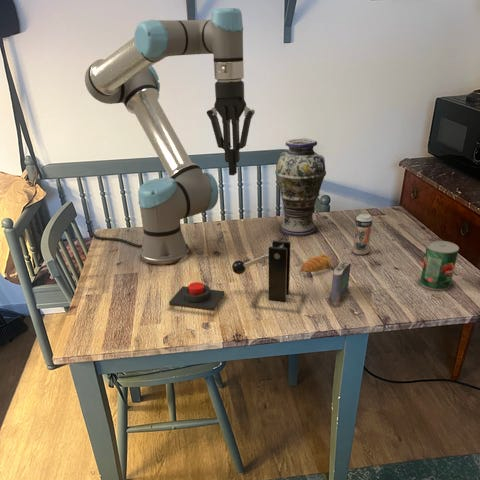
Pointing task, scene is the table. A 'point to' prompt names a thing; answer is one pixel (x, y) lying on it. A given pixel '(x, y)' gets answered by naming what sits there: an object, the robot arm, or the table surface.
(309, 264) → the pastry
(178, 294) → the stop box
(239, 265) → the switch lever
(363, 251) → the spice shaker
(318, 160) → the vase
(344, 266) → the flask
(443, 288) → the canned tomato
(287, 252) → the switch bracket
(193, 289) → the stop button
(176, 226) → the robot arm
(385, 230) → the table surface
